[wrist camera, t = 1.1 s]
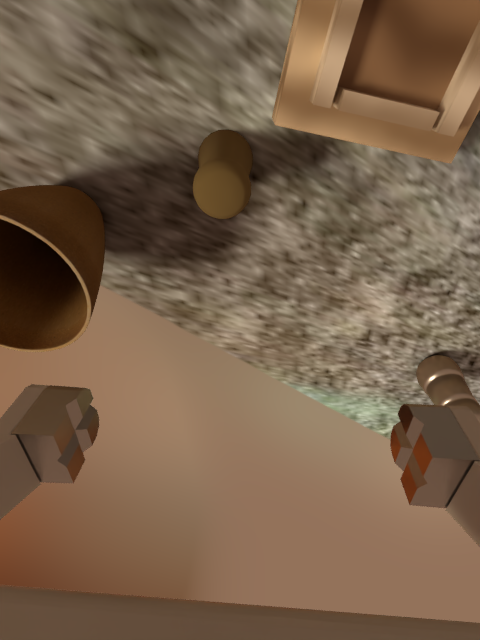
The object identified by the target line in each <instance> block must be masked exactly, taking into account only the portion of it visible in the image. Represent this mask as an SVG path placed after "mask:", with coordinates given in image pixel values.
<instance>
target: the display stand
mask: <svg viewBox="0 0 480 640" xmlns="http://www.w3.org/2000/svg"><path fill="white" fill-rule="evenodd" d="M479 110H480V0H298V1H297V6H296V11H295V15H294V20H293V24H292V29H291V33H290V38H289V42H288V47H287V52H286V56H285V61H284V65H283V70H282V74H281V79H280V84H279V88H278V93H277V97H276V102H275V106H274V111H273V115H272V118H273V121H274V124H275V125H277V126H282V127H286V128H291V129H295V130H300V131H304V132H309V133H314V134H318V135H323V136H327V137H332V138H336V139H341V140H346V141H350V142H355V143H359V144H364V145H368V146H373V147H377V148H382V149H387V150H391V151H396V152H400V153H405V154H409V155H414V156H418V157H423V158H428V159H432V160H437V161H441V162H446V163H450V164H451V162H452V160H453V159H454V157H455V155H456V153H457V151H458V149H459V147H460V146H461V144H462V142H463V140H464V138H465V136H466V134H467V133H468V131H469V129H470V127H471V125H472V123H473V121H474V120H475V118H476V116H477V114H478V112H479Z"/></svg>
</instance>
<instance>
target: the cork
mask: <svg viewBox="0 0 480 640" xmlns="http://www.w3.org/2000/svg"><path fill="white" fill-rule="evenodd" d="M198 162H199V169H198V171H197V173H196V175H195V177H194V182H193V195H194V197H195V200H196V202H197V204H198V206H199V207H200V208H201V210H202V211H203V212H204V213H206V214H208V215H209V216H211V217H214V218H217V219H228V218H231V217H234V216H236V215H237V214H239V213H240V212H241V211H242V210H243V209H244V208H245V206H246V205H247V204H248V202H249V198H250V195H251V182H250V179H249V174H250V171H251V168H252V165H253V154H252V151H251V148H250V145H249V144H248V142H247V141H246V139H245V138H244V137H242V136H241V135H240V134H239V133H237V132H234V131H231V130H218V131H216V132H213V133H211V134H210V135H209V136H208V137H206V138H205V139H204V141H203V143H202V144H201V146H200V149H199V154H198Z"/></svg>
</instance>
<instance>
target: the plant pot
mask: <svg viewBox="0 0 480 640" xmlns="http://www.w3.org/2000/svg"><path fill="white" fill-rule="evenodd" d="M104 254H105V231H104V223H103V217H102V214H101V212H100V209H99V208H98V206H97V205H96V203H95V202H94V201H93V200H92V199H91V198H90V197H89V196H88V195H86V194H85V193H83V192H82V191H80V190H78V189H76V188H73V187H68V186H59V185H39V186H27V187H19V188H13V189H7V190H2V191H0V346H1V347H4V348H8V349H13V350H19V351H26V352H44V351H51V350H56V349H60V348H63V347H65V346H68V345H69V344H71V343H73V342H74V341H76V340H77V339H78V338H79V337H80V336H81V335H82V334H83V333H84V332H85V330H86V328H87V326H88V324H89V321H90V318H91V315H92V312H93V309H94V306H95V302H96V299H97V295H98V291H99V287H100V282H101V277H102V271H103V264H104Z"/></svg>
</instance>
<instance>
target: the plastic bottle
mask: <svg viewBox="0 0 480 640" xmlns="http://www.w3.org/2000/svg"><path fill="white" fill-rule="evenodd" d="M416 376H417V380H418V383H419V385H420V386H421V387H422V389H423V390H424V391H425V393H426V394H427V395H428V396H429V398H430V399H431V401H432V402H433V404H434V405H443V406H445V405H447V406H467V407H468V408H469V409H471V411H472V412H473V413H474V415H475V417H476V418H477V420H478V421H479V423H480V405H479V403H478V402H477V401H476V399H475V398H474V397H473V395H472V393H471V391H470V389H469V387H468V385H467V384H466V382H465V379H464V376H463V373H462V371H461V369H460V367H459V365H458V364H457V363H456V362H455V361H454V360H453V359H451V358H450V357H447V356H444V355H434V356H430V357H428V358H426V359H424V360H423V361H422V362H421V363H420V364H419V365H418V368H417V371H416Z"/></svg>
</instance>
